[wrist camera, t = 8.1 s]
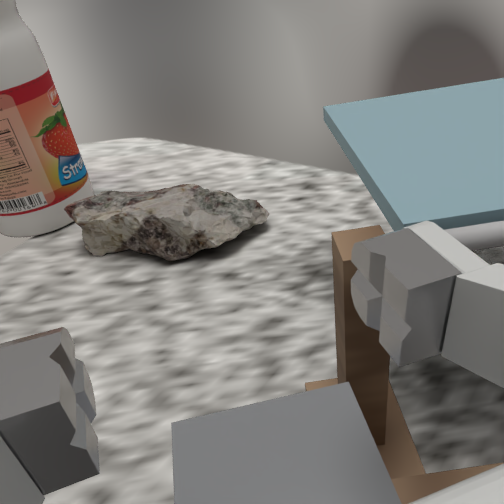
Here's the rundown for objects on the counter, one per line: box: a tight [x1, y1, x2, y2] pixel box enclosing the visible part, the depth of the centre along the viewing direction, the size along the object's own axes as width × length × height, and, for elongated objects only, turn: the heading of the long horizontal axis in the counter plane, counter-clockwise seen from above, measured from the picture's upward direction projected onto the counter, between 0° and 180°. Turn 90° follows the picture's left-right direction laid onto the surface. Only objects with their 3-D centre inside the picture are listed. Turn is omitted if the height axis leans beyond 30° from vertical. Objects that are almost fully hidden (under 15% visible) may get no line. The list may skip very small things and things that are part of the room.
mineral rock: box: [64, 184, 269, 261], centre depth 36 cm, size 15×8×4 cm, turn 70°
